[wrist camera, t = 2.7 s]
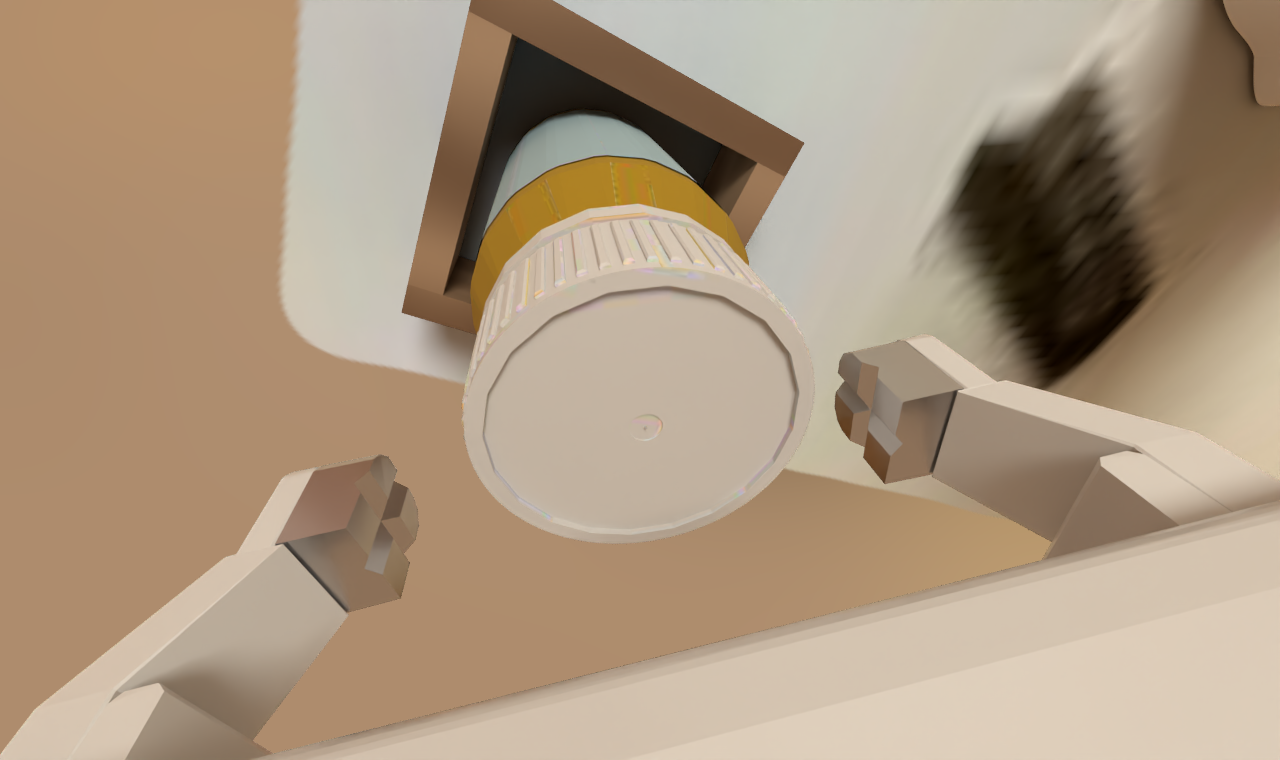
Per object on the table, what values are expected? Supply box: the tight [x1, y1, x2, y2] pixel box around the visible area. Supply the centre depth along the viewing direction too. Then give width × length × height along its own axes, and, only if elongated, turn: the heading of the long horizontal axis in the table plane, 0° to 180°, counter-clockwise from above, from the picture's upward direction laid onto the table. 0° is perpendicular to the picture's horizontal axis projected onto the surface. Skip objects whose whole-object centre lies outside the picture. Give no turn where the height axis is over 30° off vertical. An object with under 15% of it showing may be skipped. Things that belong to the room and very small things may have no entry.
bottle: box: [462, 108, 815, 544], centre depth 15 cm, size 7×7×15 cm
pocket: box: [402, 0, 804, 334], centre depth 19 cm, size 11×11×4 cm
